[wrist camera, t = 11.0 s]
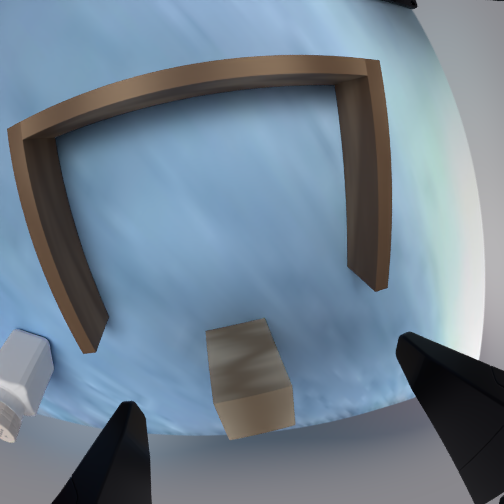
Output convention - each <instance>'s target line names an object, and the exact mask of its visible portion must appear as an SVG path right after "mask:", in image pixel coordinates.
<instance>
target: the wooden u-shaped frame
mask: <svg viewBox="0 0 504 504" xmlns="http://www.w3.org/2000/svg"><path fill="white" fill-rule="evenodd" d="M301 85H335V91H336V98H337V105H338V113H339V121H340V130H341V139H342V150H343V161H344V174H345V190H346V211H347V266H348V267H349V268H350V269H351V270H352V271H353V272H354V273H355V274H356V275H357V276H359V277H360V278H361V279H362V280H363V281H364V282H365V283H366V284H367V285H368V286H369V287H370V288H372V289H373V290H374V291H375V292H376V291H380V290H383V289H386V288H388V277H389V265H390V251H391V229H392V173H391V152H390V137H389V126H388V116H387V107H386V99H385V92H384V85H383V78H382V72H381V67H380V61H379V60H372V59H363V58H353V57H341V56H322V55H275V56H256V57H243V58H233V59H224V60H216V61H209V62H202V63H196V64H190V65H185V66H180V67H174V68H170V69H165V70H161V71H156V72H152V73H148V74H144V75H140V76H136V77H133V78H129V79H126V80H122V81H119V82H116V83H112V84H109V85H106V86H103V87H100V88H97V89H95V90H92V91H89V92H86V93H83V94H81V95H78V96H76V97H73V98H71V99H68V100H66V101H63V102H61V103H59V104H56V105H54V106H52V107H50V108H47V109H45V110H43V111H41V112H39V113H37V114H35V115H33V116H31V117H29V118H27V119H25V120H23V121H21V122H19V123H17V124H15V125H13V126H12V127H10V128H8V129H7V132H8V140H9V147H10V154H11V160H12V165H13V171H14V176H15V180H16V185H17V189H18V193H19V198H20V202H21V205H22V209H23V213H24V216H25V220H26V223H27V226H28V230H29V233H30V236H31V239H32V242H33V245H34V248H35V251H36V254H37V256H38V259H39V262H40V264H41V267H42V269H43V272H44V275H45V277H46V279H47V282H48V284H49V287H50V289H51V291H52V293H53V296H54V298H55V300H56V302H57V304H58V307H59V309H60V311H61V313H62V315H63V317H64V319H65V321H66V323H67V325H68V327H69V329H70V331H71V333H72V334H73V336H74V338H75V340H76V342H77V344H78V345H79V347H80V349H81V351H82V352H83V354H87V353H95V352H96V351H97V348H98V345H99V343H100V340H101V337H102V334H103V332H104V329H105V326H106V324H107V321H108V318H109V316H108V314H107V311H106V309H105V307H104V304H103V302H102V300H101V297H100V295H99V292H98V290H97V287H96V285H95V282H94V280H93V277H92V274H91V272H90V269H89V266H88V264H87V261H86V258H85V255H84V252H83V249H82V246H81V243H80V240H79V237H78V234H77V230H76V227H75V224H74V220H73V217H72V213H71V210H70V206H69V202H68V198H67V194H66V190H65V186H64V182H63V177H62V173H61V168H60V163H59V158H58V153H57V147H56V141H55V137H58V136H60V135H63V134H65V133H68V132H70V131H73V130H76V129H78V128H81V127H84V126H87V125H89V124H92V123H95V122H98V121H101V120H104V119H108V118H111V117H114V116H117V115H121V114H124V113H127V112H131V111H135V110H138V109H142V108H146V107H150V106H154V105H158V104H163V103H167V102H172V101H176V100H181V99H186V98H191V97H197V96H203V95H209V94H215V93H222V92H229V91H237V90H245V89H255V88H266V87H280V86H301Z"/></svg>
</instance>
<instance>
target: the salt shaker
mask: <svg viewBox="0 0 504 504" xmlns="http://www.w3.org/2000/svg"><path fill="white" fill-rule="evenodd" d="M53 371H54V365H53V360H52V355H51V350H50V344H49V341H48V340H47V339H46V338H44V337H41V336H38V335H35V334H32V333H29V332H26V331H23V330H20V329H15V330H13V331H12V333H11V334H10V336H9V337H8V339H7V340H6V342H5V343H4V345H3V346H2V348H1V349H0V439H2V440H4V441H7V442H10V443H13V442H15V441H16V438H17V435H18V432H19V429H20V427H21V424H22V418H23V415H26V416H35V415H36V414H37V411H38V408H39V405H40V403H41V400H42V398H43V395H44V393H45V390H46V388H47V385H48V383H49V380H50V378H51V376H52V373H53Z"/></svg>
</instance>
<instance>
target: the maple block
mask: <svg viewBox="0 0 504 504" xmlns="http://www.w3.org/2000/svg"><path fill="white" fill-rule="evenodd" d="M206 342H207V352H208V362H209V371H210V380H211V388H212V396H213V404H214V406H215V409H216V411H217V413H218V415H219V418H220V420H221V422H222V424H223V427H224V429H225V431H226V433H227V435H228V437H229V440H233V439H239V438H243V437H248V436H253V435H258V434H262V433H266V432H270V431H274V430H278V429H282V428H286V427H289V426H293V425H295V414H294V402H293V390H292V384H291V382H290V379H289V377H288V374H287V372H286V370H285V367H284V365H283V362H282V360H281V357H280V355H279V352H278V350H277V347H276V345H275V342H274V340H273V337H272V335H271V332H270V330H269V328H268V325H267V323H266V320H265V318H262V319H258V320H254V321H249V322H245V323H240V324H236V325H231V326H227V327H222V328H217V329H213V330H208V331H206Z"/></svg>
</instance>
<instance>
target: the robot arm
mask: <svg viewBox="0 0 504 504" xmlns="http://www.w3.org/2000/svg"><path fill="white" fill-rule="evenodd" d="M382 1H386V2H390V3H393V4H397V5H400V6H403V7H407V8H410V9H415V8H417V3H416V0H382ZM495 1H504V0H495ZM396 357H397V360H398V362H399V364H400V366H401V368H402V370H403V372H404V374H405V376H406V378H407V380H408V383H409V385H410V387H411V389H412V391H413V392H414V394H415V396H416V397H417V399H418V401H419V402H420V404H421V406H422V407H423V409H424V411H425V412H426V414H427V416H428V417H429V419H430V421H431V423H432V424H433V426H434V428H435V429H436V431H437V433H438V435H439V436H440V438H441V440H442V442H443V443H444V445H445V447H446V449H447V451H448V453H449V454H450V456H451V458H452V460H453V462H454V464H455V466H456V468H457V469H458V471H459V474H460V476H461V477H462V479H463V481H464V483H465V485H466V487H467V489H468V491H469V493H470V495H471V497H472V499H473V501H474V503H475V504H485V503H487V502H489V501H491V500H492V499H494V498H495V497H497V496H499V495H500V494H502V493H503V492H504V371H503V370H500V369H498V368H496V367H493V366H490V365H488V364H486V363H483V362H481V361H479V360H476V359H474V358H472V357H469V356H467V355H464V354H462V353H460V352H457V351H455V350H453V349H450V348H448V347H446V346H443V345H441V344H438V343H436V342H434V341H431V340H429V339H427V338H424V337H422V336H420V335H417V334H415V333H413V332H406V333H404V334H402V335H400V336H399V339H398V343H397V348H396ZM150 475H151V472H150V453H149V444H148V436H147V426H146V418H145V416H144V414H143V412H142V411H141V410H140V408H139V407H138V406H137V404H136V403H135V402H134V401H124V402H122V403H121V404H120V405H119V407H118V408H117V410H116V411H115V413H114V414H113V415H112V417H111V418H110V420H109V421H108V423H107V424H106V426H105V427H104V429H103V430H102V432H101V433H100V434H99V436H98V437H97V439H96V440H95V442H94V443H93V445H92V446H91V448H90V449H89V450H88V452H87V454H86V455H85V456H84V458H83V459H82V461H81V462H80V464H79V465H78V467H77V468H76V470H75V471H74V473H73V474H72V477H70V479H69V480H68V482H67V483H66V485H65V486H64V487H63V489H62V490H61V492H60V493H59V494H58V496H57V497H56V498H55V500H54V501H53V502H52V504H152V500H151V476H150ZM499 504H504V495H503V496H502V497H501V498H500V502H499Z"/></svg>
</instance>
